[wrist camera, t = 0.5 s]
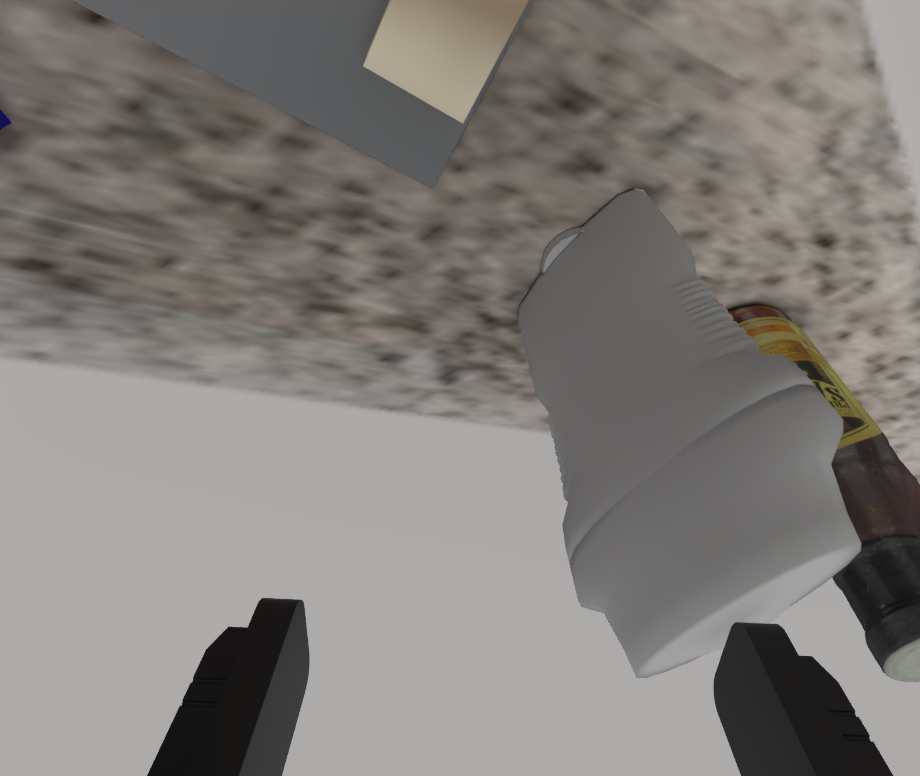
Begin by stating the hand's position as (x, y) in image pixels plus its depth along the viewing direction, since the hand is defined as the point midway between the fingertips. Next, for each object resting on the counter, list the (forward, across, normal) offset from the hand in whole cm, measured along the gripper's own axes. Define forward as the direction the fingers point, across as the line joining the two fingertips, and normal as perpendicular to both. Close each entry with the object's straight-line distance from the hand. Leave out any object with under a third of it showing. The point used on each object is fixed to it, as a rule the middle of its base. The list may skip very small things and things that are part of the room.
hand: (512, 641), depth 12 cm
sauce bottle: (+27, -15, +5) cm, 32 cm away
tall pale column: (+25, -5, 0) cm, 26 cm away
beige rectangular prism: (+22, +2, -13) cm, 25 cm away
